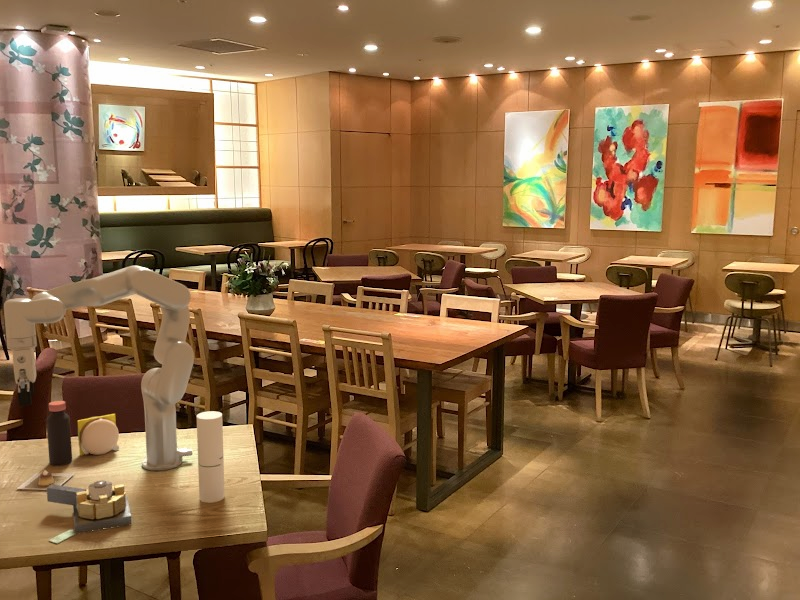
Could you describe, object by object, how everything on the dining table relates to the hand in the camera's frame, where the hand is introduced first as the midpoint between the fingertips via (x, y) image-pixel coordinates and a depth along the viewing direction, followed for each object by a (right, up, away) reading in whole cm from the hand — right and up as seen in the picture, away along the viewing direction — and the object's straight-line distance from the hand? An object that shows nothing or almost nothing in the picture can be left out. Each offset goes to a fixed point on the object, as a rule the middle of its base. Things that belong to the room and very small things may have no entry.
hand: (26, 400), depth 215 cm
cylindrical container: (+52, -29, +4) cm, 60 cm away
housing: (+24, -31, -13) cm, 42 cm away
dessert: (0, -28, +13) cm, 30 cm away
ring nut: (+21, -28, -9) cm, 36 cm away
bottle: (-3, -24, +29) cm, 38 cm away
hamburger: (+6, -23, +37) cm, 44 cm away
